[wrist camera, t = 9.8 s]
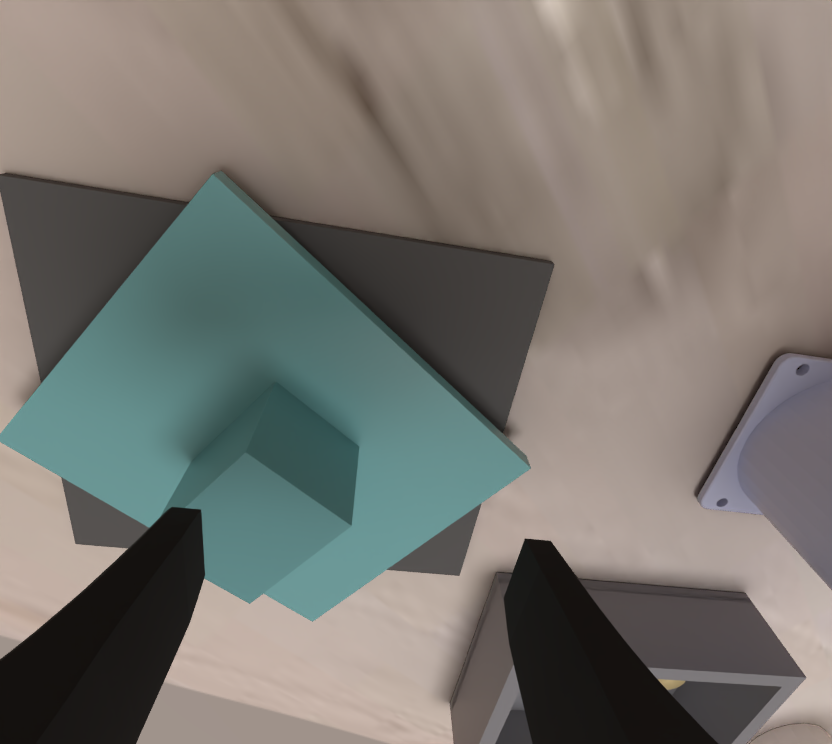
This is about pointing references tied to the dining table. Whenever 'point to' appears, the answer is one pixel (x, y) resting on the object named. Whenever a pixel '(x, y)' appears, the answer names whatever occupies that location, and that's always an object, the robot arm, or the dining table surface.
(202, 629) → the dining table surface
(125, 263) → the mat
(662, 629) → the tub
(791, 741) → the white cup
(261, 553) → the lid
